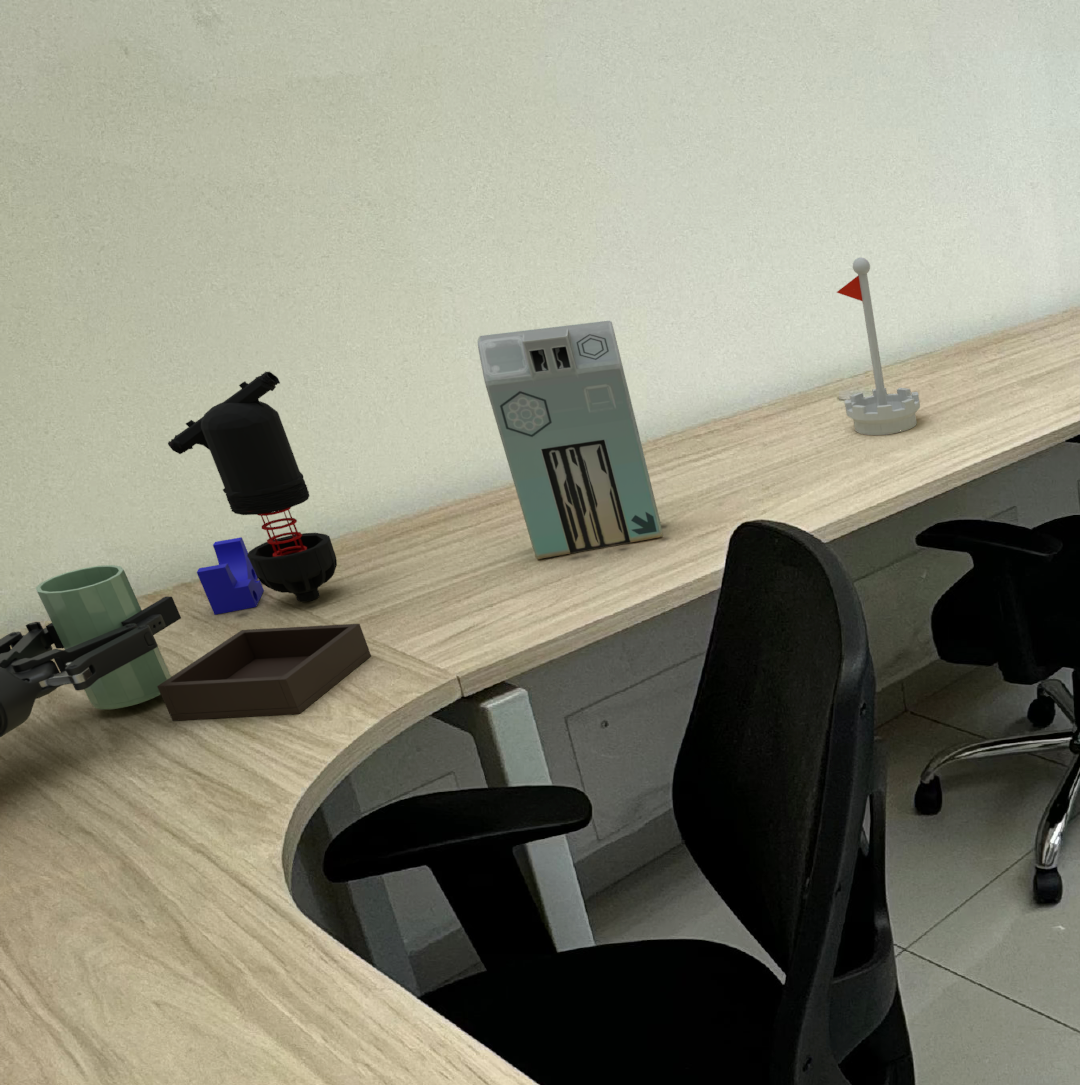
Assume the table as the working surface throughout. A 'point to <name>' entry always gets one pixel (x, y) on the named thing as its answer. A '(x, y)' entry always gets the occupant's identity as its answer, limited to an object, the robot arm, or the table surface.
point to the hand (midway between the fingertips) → (136, 609)
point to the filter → (263, 485)
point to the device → (570, 437)
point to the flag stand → (877, 375)
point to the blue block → (231, 578)
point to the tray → (265, 672)
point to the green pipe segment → (102, 630)
